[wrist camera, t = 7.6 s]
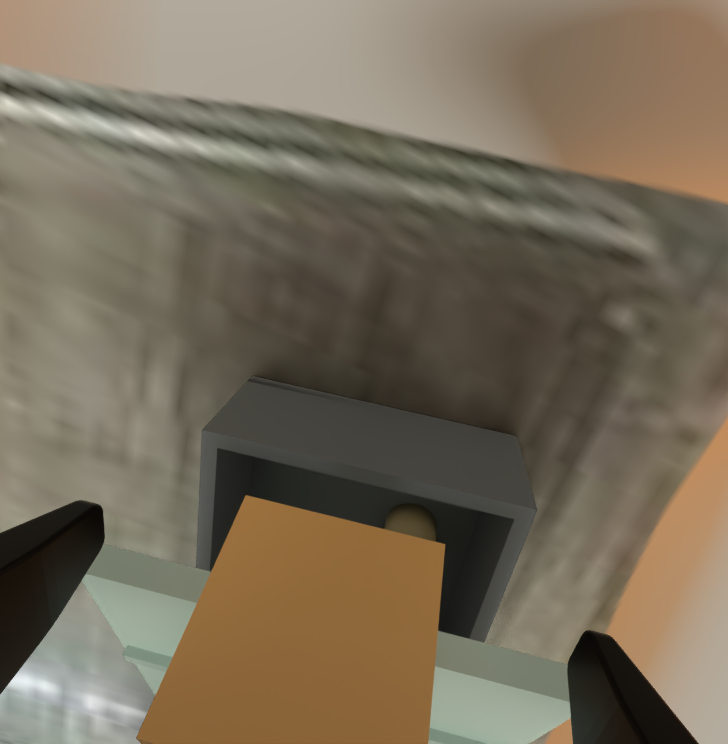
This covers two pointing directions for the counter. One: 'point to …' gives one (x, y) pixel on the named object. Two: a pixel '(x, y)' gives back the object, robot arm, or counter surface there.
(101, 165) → the counter surface
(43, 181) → the counter surface
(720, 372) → the counter surface
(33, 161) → the counter surface
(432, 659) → the lid
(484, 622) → the parts tub
